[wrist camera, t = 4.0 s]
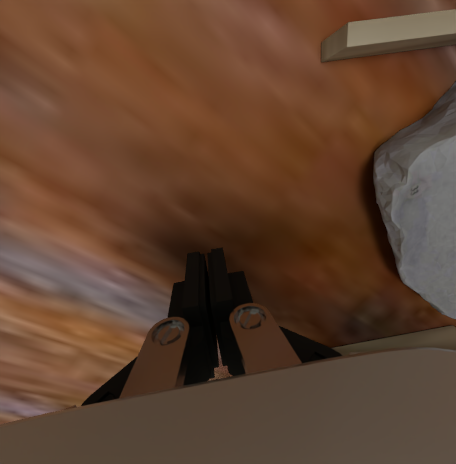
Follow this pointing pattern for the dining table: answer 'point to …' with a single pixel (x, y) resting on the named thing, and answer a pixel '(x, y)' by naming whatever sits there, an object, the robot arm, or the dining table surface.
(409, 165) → the stone block
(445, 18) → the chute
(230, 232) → the dining table surface
